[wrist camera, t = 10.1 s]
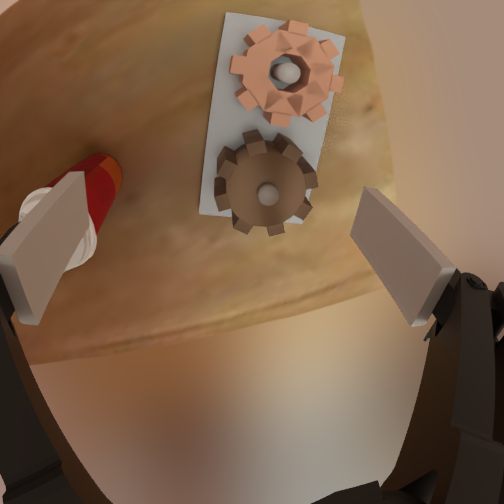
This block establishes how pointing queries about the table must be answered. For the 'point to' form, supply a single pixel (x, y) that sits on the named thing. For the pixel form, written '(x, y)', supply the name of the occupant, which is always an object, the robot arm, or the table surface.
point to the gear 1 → (298, 93)
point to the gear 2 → (263, 182)
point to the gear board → (240, 120)
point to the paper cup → (98, 199)
